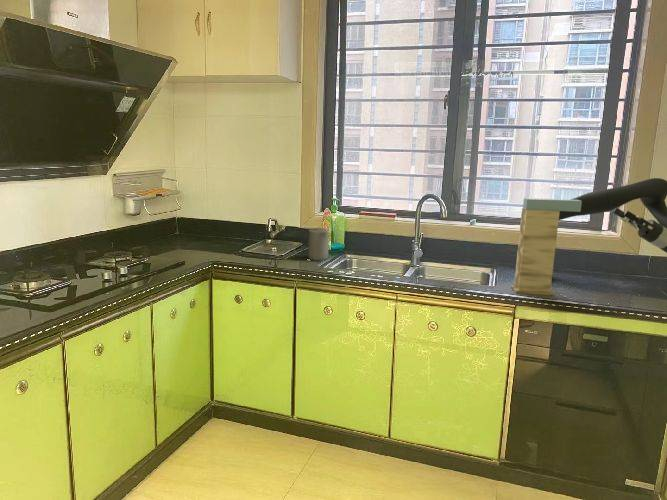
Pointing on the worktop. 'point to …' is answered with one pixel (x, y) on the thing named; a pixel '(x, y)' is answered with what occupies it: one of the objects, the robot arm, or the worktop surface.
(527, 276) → the oak block
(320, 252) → the pillar candle
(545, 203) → the slate bar
